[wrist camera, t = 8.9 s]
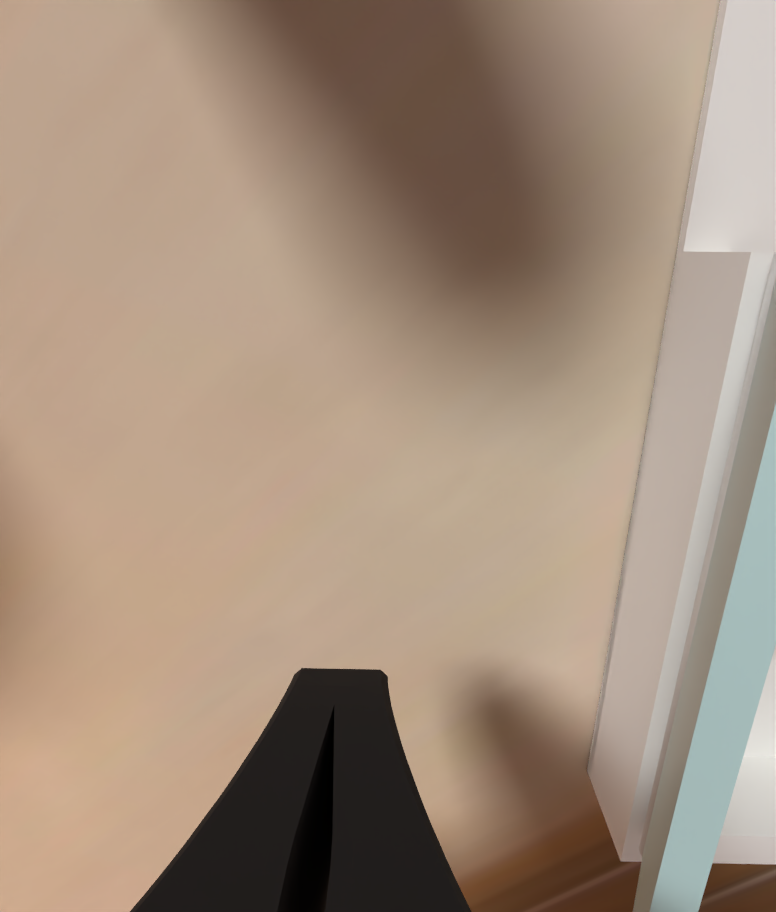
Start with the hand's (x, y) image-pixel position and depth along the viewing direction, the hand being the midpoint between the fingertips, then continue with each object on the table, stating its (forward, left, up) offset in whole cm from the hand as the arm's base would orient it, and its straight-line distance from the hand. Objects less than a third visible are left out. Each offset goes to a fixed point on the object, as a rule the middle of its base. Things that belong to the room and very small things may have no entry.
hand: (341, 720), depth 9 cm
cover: (-6, 0, 0) cm, 6 cm away
